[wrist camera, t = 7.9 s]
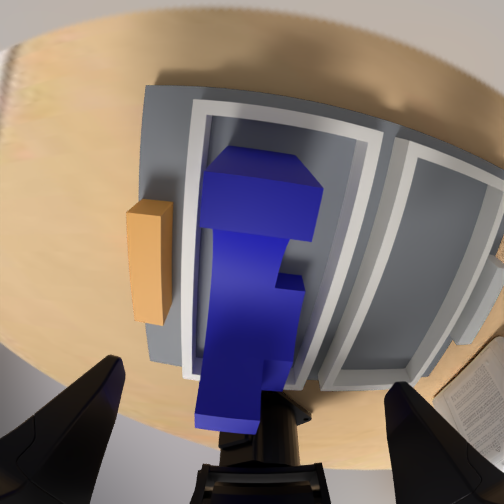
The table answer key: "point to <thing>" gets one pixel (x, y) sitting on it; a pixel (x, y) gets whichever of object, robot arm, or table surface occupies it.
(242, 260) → the blue curved cradle
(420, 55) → the table surface
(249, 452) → the robot arm
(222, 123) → the dock board
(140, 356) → the table surface
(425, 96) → the table surface
